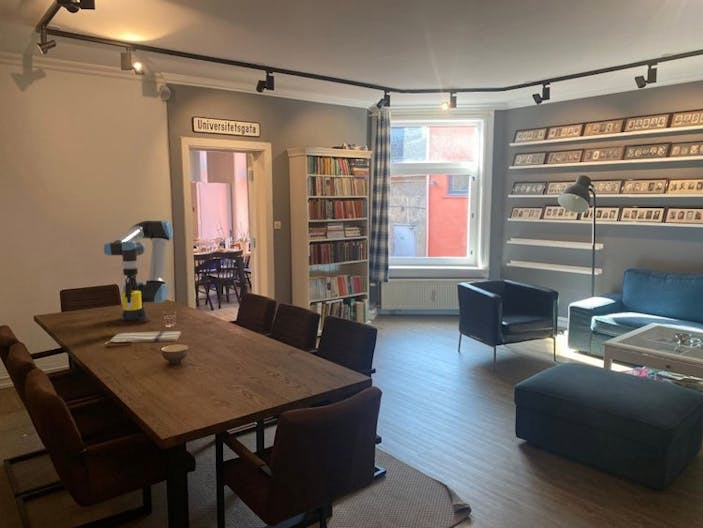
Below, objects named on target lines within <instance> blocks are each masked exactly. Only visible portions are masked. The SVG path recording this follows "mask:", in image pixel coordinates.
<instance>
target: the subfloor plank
mask: <svg viewBox="0 0 703 528" xmlns="http://www.w3.org/2000/svg"><path fill="white" fill-rule="evenodd" d="M181 334H182V331H181V330H178V331H177V330H174V331H165V330H164V331H163V330H162V331H144V332H143V331H141V332H140V331H139V332H136V331H135V332H117V334H115V335H114V336H113V337H112V338H111V339H110V340H109V343H110V342H113V341H123V340H128V341H131V342H132V343H134V344H135V343H158V342H161V343H162V342H164V343H165V342H176V341H177V340H178V338H179V337H180V336H181Z"/></svg>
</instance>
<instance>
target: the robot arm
mask: <svg viewBox="0 0 703 528" xmlns="http://www.w3.org/2000/svg"><path fill="white" fill-rule="evenodd" d="M173 238H174V230H173V226H172V224H171V222H170V221H168V220H144V221H140V222H138V223H136V224H134V225H133V226H131V227H130V228H129V229H128V231H127V232H124V234H122V235H121V236H120V237H119V238H117V239H116V240H114V241H113V242H110V241H109V242H106V243H104V245H103V252H104V254H105V255H106V256H113V257H114V256H122V262H121V264H122V268H123V271H122V273H123V276H126V278H125V281H124V282H125V284H124V285H123V289H122V291H123V292H125V297H127V308H133V307H132V297H131V293H132V291H141V302H142V308H141V309H137V310H123V309H122V313H121V321H127V322H136V321H143V320H145V319H147V318H148V313H147V310H146V308H145V305H144V303H147V304H148V303H154V304H158V303H164V302H165V301H166V300H167V297H168V293H169V286H168V285H167V284H166V281H165V280H164V276H165V275H164V274H165V273H164V272H165V261H166V253H167V245H168V243H170V240H171V239H173ZM143 239H149V240H150V242H151V243H152V244H151V254H150V265H149V273H148V276H149V277H148V279H147V280H146V282H145V284H144V282H143V281H137V275H138V257H137V256H141V255H143V254H144V253H145V252H146V251H147V250H146V245H145V244H144V243H143V242H141V241H140V240H143Z"/></svg>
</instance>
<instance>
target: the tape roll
mask: <svg viewBox="0 0 703 528" xmlns="http://www.w3.org/2000/svg"><path fill="white" fill-rule="evenodd" d="M121 294H122V295H121V296H122V311H123V310H137V309H141V308H142V302H141V291H132V293H131V297H132V307H133V308H127V297H125V292H121Z"/></svg>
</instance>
